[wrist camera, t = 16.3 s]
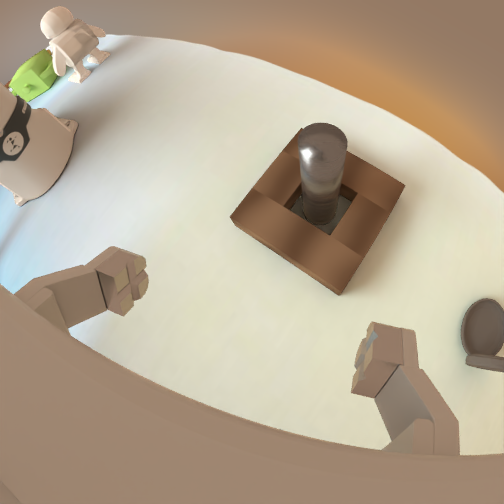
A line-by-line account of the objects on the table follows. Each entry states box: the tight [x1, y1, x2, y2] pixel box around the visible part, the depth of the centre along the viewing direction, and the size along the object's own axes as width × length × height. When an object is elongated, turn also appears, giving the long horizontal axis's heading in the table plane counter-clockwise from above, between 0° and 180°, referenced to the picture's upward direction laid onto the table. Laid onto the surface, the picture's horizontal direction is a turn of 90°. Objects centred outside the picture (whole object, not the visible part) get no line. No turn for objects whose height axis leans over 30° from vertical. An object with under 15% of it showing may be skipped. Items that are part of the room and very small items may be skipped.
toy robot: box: [41, 6, 111, 83], centre depth 40 cm, size 14×9×20 cm, turn 144°
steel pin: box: [298, 123, 347, 225], centre depth 25 cm, size 4×4×12 cm
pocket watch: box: [461, 298, 504, 372], centre depth 19 cm, size 8×8×10 cm
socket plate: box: [230, 128, 405, 295], centre depth 29 cm, size 13×13×2 cm
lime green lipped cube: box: [9, 49, 58, 102], centre depth 50 cm, size 18×10×10 cm, turn 92°
